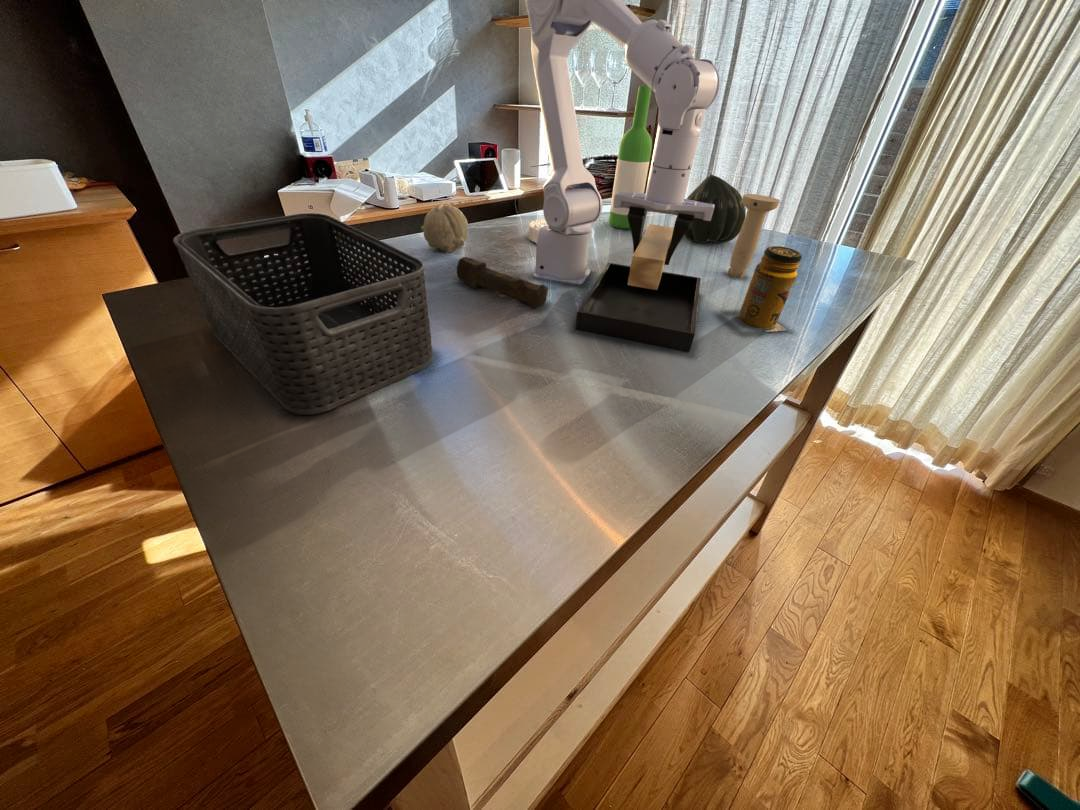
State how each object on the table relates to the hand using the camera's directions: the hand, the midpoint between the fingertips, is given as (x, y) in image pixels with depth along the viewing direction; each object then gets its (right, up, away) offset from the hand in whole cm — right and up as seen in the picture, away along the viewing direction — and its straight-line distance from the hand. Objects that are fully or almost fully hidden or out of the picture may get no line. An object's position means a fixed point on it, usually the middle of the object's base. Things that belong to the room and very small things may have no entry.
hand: (651, 260), depth 71 cm
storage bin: (-48, -15, -10) cm, 51 cm away
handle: (+23, +3, +20) cm, 31 cm away
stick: (0, -1, +1) cm, 1 cm away
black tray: (-1, -8, +4) cm, 8 cm away
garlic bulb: (-38, +10, +24) cm, 46 cm away
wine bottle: (+4, +24, +45) cm, 52 cm away
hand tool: (-26, -4, +6) cm, 27 cm away
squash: (+23, +18, +39) cm, 49 cm away
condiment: (+17, -10, +3) cm, 20 cm away
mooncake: (-15, +16, +33) cm, 39 cm away
